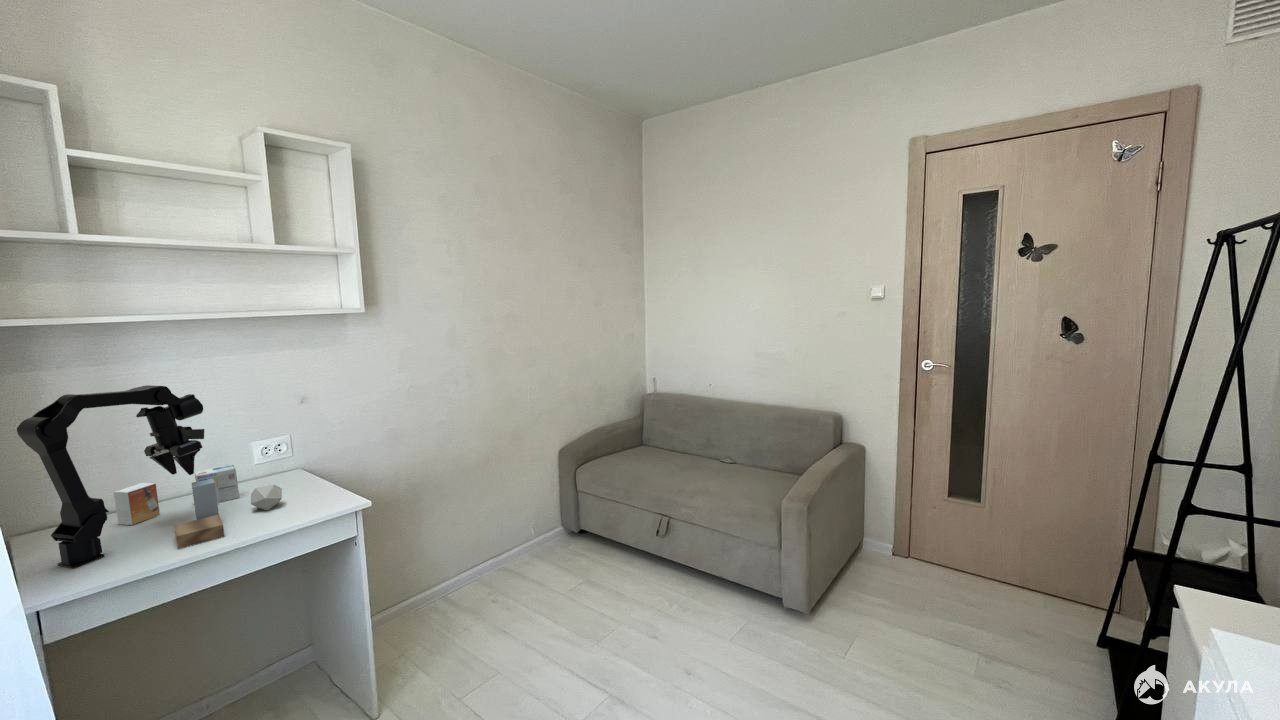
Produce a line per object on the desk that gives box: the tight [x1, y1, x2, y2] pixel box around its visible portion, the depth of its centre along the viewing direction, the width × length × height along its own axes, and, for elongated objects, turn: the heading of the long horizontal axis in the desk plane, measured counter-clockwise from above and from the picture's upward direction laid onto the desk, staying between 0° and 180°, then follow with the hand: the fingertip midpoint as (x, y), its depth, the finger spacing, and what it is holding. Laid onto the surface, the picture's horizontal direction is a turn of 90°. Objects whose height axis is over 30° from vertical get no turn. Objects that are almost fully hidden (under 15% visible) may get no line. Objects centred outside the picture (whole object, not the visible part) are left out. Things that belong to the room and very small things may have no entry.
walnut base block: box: [173, 514, 225, 550], centre depth 149 cm, size 10×10×4 cm
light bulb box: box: [194, 463, 240, 504], centre depth 176 cm, size 11×7×11 cm, turn 134°
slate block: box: [191, 479, 220, 520], centre depth 157 cm, size 5×5×13 cm
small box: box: [113, 482, 161, 526], centre depth 161 cm, size 8×6×10 cm
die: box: [250, 481, 283, 511], centre depth 169 cm, size 8×9×10 cm
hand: (183, 474), depth 158 cm, fingers open, 9 cm apart
